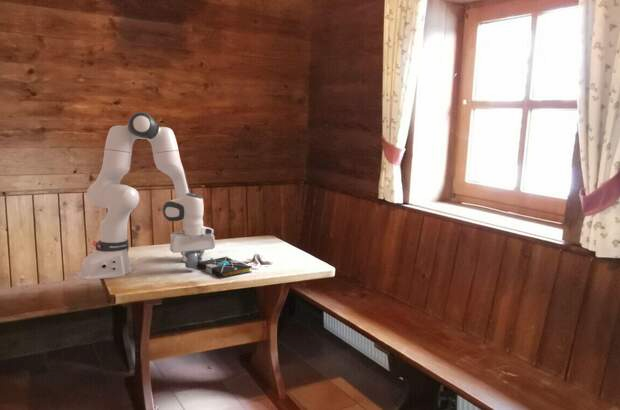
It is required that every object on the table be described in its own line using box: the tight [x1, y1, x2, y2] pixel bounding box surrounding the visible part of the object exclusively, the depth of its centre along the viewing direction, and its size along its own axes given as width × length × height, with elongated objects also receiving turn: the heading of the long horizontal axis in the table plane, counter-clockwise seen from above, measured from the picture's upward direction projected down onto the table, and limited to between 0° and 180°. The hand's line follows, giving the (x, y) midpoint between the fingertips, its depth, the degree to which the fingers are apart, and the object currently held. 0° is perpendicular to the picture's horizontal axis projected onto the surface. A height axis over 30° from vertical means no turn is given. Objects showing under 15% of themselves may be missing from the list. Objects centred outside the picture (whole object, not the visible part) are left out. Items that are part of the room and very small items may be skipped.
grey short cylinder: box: [184, 251, 198, 269], centre depth 233 cm, size 5×5×6 cm
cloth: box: [240, 251, 277, 271], centre depth 250 cm, size 22×19×6 cm
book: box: [197, 255, 252, 280], centre depth 237 cm, size 22×17×5 cm
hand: (192, 260), depth 232 cm, fingers closed on grey short cylinder, 5 cm apart
